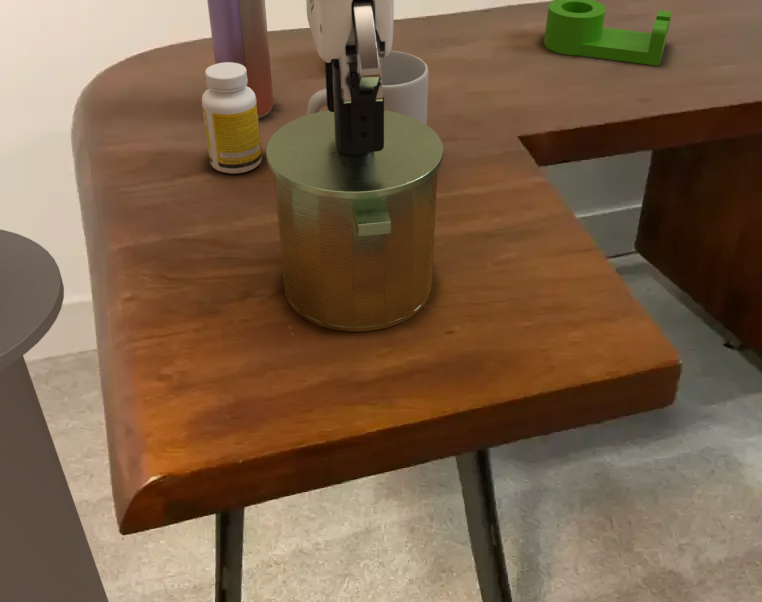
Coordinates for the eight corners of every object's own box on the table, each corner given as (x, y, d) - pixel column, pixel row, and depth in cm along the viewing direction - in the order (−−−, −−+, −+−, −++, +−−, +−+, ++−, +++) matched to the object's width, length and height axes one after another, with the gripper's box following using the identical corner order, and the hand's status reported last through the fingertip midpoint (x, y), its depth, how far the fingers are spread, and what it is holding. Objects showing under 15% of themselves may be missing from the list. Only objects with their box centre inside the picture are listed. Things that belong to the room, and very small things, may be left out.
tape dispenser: (538, 51, 117) (543, 13, 113) (549, 30, 122) (554, -6, 118) (658, 66, 113) (666, 28, 110) (665, 45, 118) (672, 8, 115)
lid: (275, 214, 65) (266, 112, 60) (260, 128, 75) (251, 33, 70) (461, 197, 67) (467, 96, 62) (422, 115, 77) (425, 22, 72)
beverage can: (224, 124, 102) (206, -17, 91) (218, 101, 106) (201, -36, 96) (277, 119, 103) (266, -22, 92) (269, 96, 107) (258, -41, 97)
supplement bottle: (273, 162, 95) (264, 70, 89) (231, 181, 93) (219, 87, 86) (241, 145, 98) (230, 54, 91) (199, 162, 95) (185, 70, 89)
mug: (413, 149, 97) (415, 45, 90) (435, 188, 91) (440, 81, 84) (302, 162, 95) (295, 57, 88) (317, 203, 89) (311, 95, 82)
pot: (296, 361, 72) (285, 223, 63) (275, 237, 85) (263, 109, 76) (452, 343, 74) (462, 206, 65) (408, 225, 87) (411, 97, 78)
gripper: (275, -170, 63) (293, 85, 75) (304, -101, 50) (319, 191, 63) (383, -174, 64) (383, 78, 76) (437, -107, 51) (426, 181, 64)
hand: (354, 127), depth 69 cm, fingers open, 6 cm apart
